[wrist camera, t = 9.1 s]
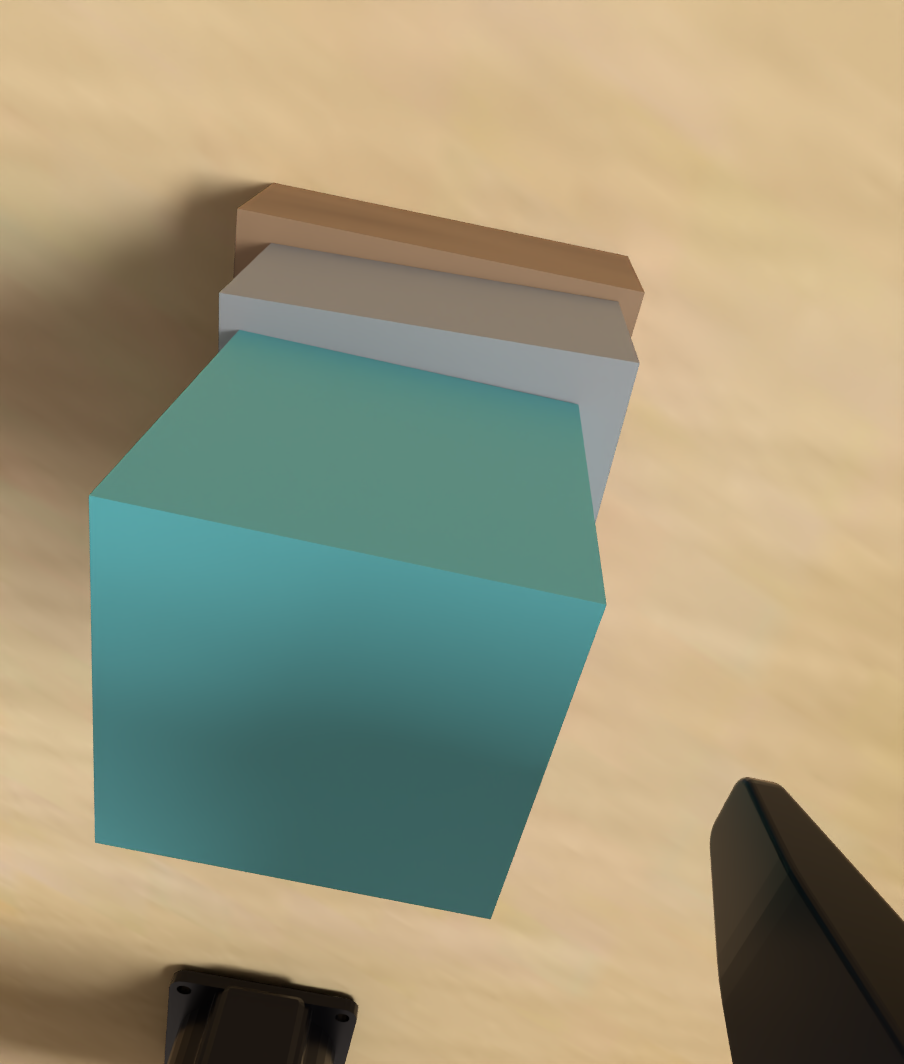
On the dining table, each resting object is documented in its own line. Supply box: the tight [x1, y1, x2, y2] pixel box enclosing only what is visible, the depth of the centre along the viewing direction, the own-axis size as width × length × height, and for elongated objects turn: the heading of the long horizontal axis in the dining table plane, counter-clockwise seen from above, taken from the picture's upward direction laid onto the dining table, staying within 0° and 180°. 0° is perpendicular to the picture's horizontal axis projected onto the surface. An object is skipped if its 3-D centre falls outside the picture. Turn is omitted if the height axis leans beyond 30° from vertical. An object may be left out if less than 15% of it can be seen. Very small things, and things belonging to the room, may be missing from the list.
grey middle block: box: [219, 243, 639, 522], centre depth 15 cm, size 6×6×3 cm
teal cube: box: [89, 330, 606, 919], centre depth 12 cm, size 5×5×5 cm
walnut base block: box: [233, 183, 645, 337], centre depth 18 cm, size 7×7×3 cm
